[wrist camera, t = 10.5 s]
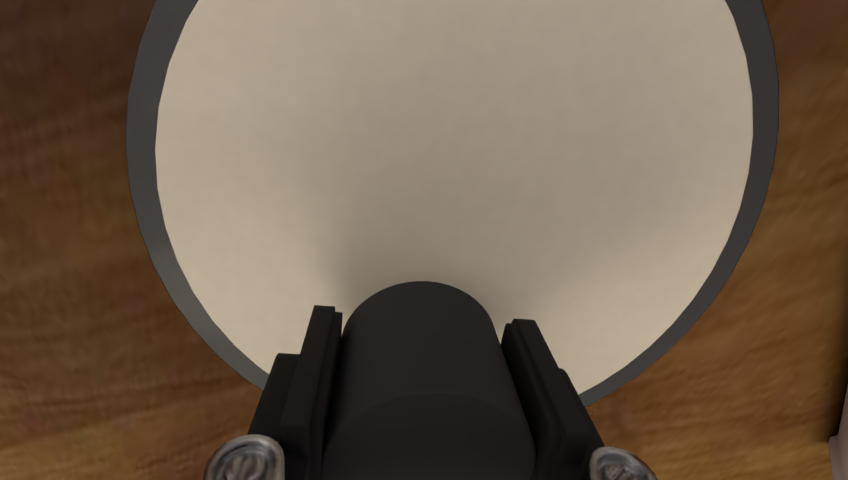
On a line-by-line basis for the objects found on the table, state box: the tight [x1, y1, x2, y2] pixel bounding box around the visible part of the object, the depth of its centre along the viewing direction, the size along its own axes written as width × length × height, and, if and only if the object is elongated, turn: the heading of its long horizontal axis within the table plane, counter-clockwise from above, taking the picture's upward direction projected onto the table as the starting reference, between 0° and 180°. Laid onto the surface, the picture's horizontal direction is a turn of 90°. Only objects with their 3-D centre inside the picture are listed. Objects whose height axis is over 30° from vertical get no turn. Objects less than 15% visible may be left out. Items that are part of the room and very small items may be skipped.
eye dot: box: [321, 281, 536, 480], centre depth 11 cm, size 4×4×4 cm
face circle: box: [125, 0, 779, 407], centre depth 13 cm, size 18×18×1 cm
